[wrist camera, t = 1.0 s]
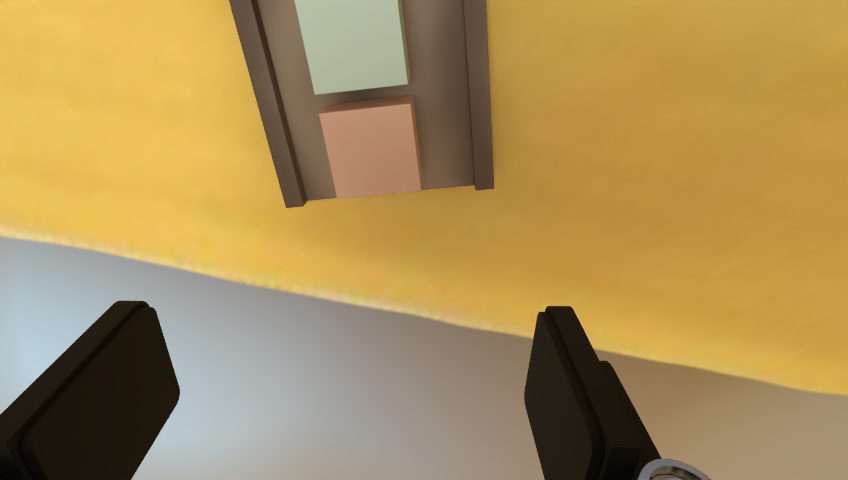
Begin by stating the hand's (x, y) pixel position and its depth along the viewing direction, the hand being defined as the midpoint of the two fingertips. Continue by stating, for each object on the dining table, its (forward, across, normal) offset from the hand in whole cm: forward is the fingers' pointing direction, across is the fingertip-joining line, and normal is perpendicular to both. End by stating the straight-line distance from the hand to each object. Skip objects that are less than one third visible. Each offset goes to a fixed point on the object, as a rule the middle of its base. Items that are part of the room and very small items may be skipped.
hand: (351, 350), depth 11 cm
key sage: (+19, +2, -6) cm, 20 cm away
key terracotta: (+19, +1, 0) cm, 19 cm away
